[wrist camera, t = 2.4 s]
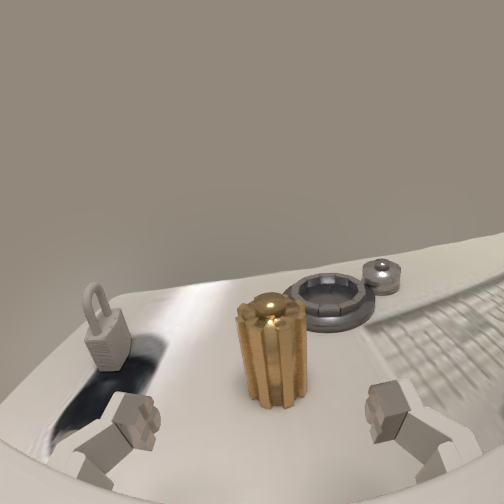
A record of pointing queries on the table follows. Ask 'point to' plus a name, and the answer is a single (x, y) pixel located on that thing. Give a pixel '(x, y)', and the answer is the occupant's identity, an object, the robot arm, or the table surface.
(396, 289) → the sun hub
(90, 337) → the padlock
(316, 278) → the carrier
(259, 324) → the gear
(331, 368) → the table surface
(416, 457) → the robot arm
